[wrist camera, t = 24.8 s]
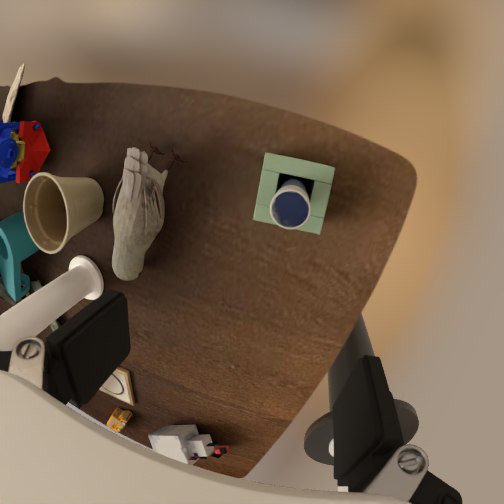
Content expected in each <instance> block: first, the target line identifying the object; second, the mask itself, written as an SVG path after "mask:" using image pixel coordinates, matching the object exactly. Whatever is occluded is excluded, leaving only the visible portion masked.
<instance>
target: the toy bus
mask: <svg viewBox="0 0 504 504" xmlns="http://www.w3.org/2000/svg"><path fill="white" fill-rule="evenodd" d="M130 417H131V418H132V417H133V415H132V412H130V411H129V410H127V411H123V410H122V409H120V408H116V410H115V411H114V412H113V414H112V415H111V417H110V419H109V421H108V423H107V426H108V427H109V428H110V429H112V430H113V431H115V432H119V431H120V432H121V431H122V428H123V427H124V425H125V426H126V425H127V421H128V420H129V418H130Z"/></svg>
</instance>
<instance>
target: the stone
mask: <svg viewBox="0 0 504 504" xmlns="http://www.w3.org/2000/svg"><path fill="white" fill-rule="evenodd" d="M31 285H32V287H33V290H34V292H36V291H37V290H39V289H40V288H42V286H41V283H40V281H39V280H37V281H32V282H31ZM50 326H51V328H52V330H53V332H54V331H55V330H56V329H58V328H59V327H60V324H59V322H58V321H57V319H56V320H55V321H53V322H52V323H51V324H50Z"/></svg>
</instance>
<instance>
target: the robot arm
mask: <svg viewBox="0 0 504 504" xmlns="http://www.w3.org/2000/svg"><path fill="white" fill-rule="evenodd" d="M46 340H47V342H46V343H45V344H44V343H43V341H42V340H41V339H39V338H37V337H32V336H29V337H24V338H21V339H20V340H18V341H17V342H16V343H15V344H14V347H13V350H12V351H0V504H462V498H461V495H460V494H459V492H458V491H457V490H455V489H454V488H452V487H451V486H449V485H448V484H446V483H445V482H443V481H442V480H441V479H439V478H438V477H436V476H435V475H433V474H432V473H430V472H429V471H428V470H427V469H428V466H429V459H428V456H427V454H426V453H425V452H424V450H422V449H421V448H420V447H418V446H415V445H410V444H409V445H404V440H403V436H402V431H401V427H400V423H399V419H398V415H397V411H396V407H395V403H394V399H393V396H392V394H391V392H390V391H389V388H388V384H387V380H386V377H385V374H384V370H383V367H382V363H381V360H380V358H379V357H375V356H369V355H365V356H364V357H363V358H359V359H358V361H357V363H356V365H355V367H354V369H353V370H352V372H351V374H350V376H349V378H348V380H347V382H346V383H345V385H344V387H343V389H342V391H341V392H340V394H339V396H338V398H337V399H336V401H335V403H334V405H333V439H332V440H331V442H330V444H329V453H330V454H331V455H332V456H333V457H334V479H338V491H336V492H335V491H320V490H309V489H299V488H291V487H283V486H276V485H269V484H264V483H258V482H253V481H248V480H243V479H239V478H235V477H231V476H227V475H223V474H219V473H215V472H212V471H208V470H205V469H201V468H198V467H195V466H192V465H189V464H186V463H183V462H180V461H177V460H174V459H172V458H169V457H166V456H164V455H161V454H159V453H156V452H154V451H151V450H149V449H146V448H144V447H142V446H140V445H138V444H135V443H133V442H131V441H129V440H127V439H125V438H123V437H120V436H118V435H117V434H115V433H113V432H111V431H109V430H107V429H105V428H103V427H101V426H99V425H98V424H96V423H94V422H92V421H91V420H89V419H87V418H86V417H84V416H82V415H81V414H79V413H77V412H76V411H74V410H72V409H71V408H69V407H67V406H66V404H67V403H68V402H69V403H71V404H72V405H74V406H75V407H77V408H79V409H80V407H81V406H82V405H83V404H87V403H88V402H89V401H90V400H91V399H92V397H93V396H94V395H95V394H96V392H97V391H98V390H99V389H100V388H101V386H102V385H103V384H104V383H105V382H106V381H107V379H108V378H109V377H110V376H111V375H112V373H113V372H114V371H115V370H116V369H117V368H118V366H119V365H120V364H121V363H122V362H123V360H124V359H125V358H126V357H127V356H128V354H129V352H130V336H129V324H128V307H127V299H126V298H125V296H124V294H123V293H122V292H119V291H116V290H113V289H109V290H108V291H106V292H105V293H104V294H102V295H101V296H100V297H98V298H97V299H96V300H94V301H93V302H92V303H90V304H89V305H88V306H86V307H85V308H84V309H82V310H81V311H80V312H78V313H77V314H76V315H74V316H73V317H72V318H71V319H69V320H68V321H67V322H65V323H64V324H63V325H62V326H60V327H59V328H58V329H56V330H55V331H54V332H53V333H51V334H50V335H49V336H48V337H46Z"/></svg>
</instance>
